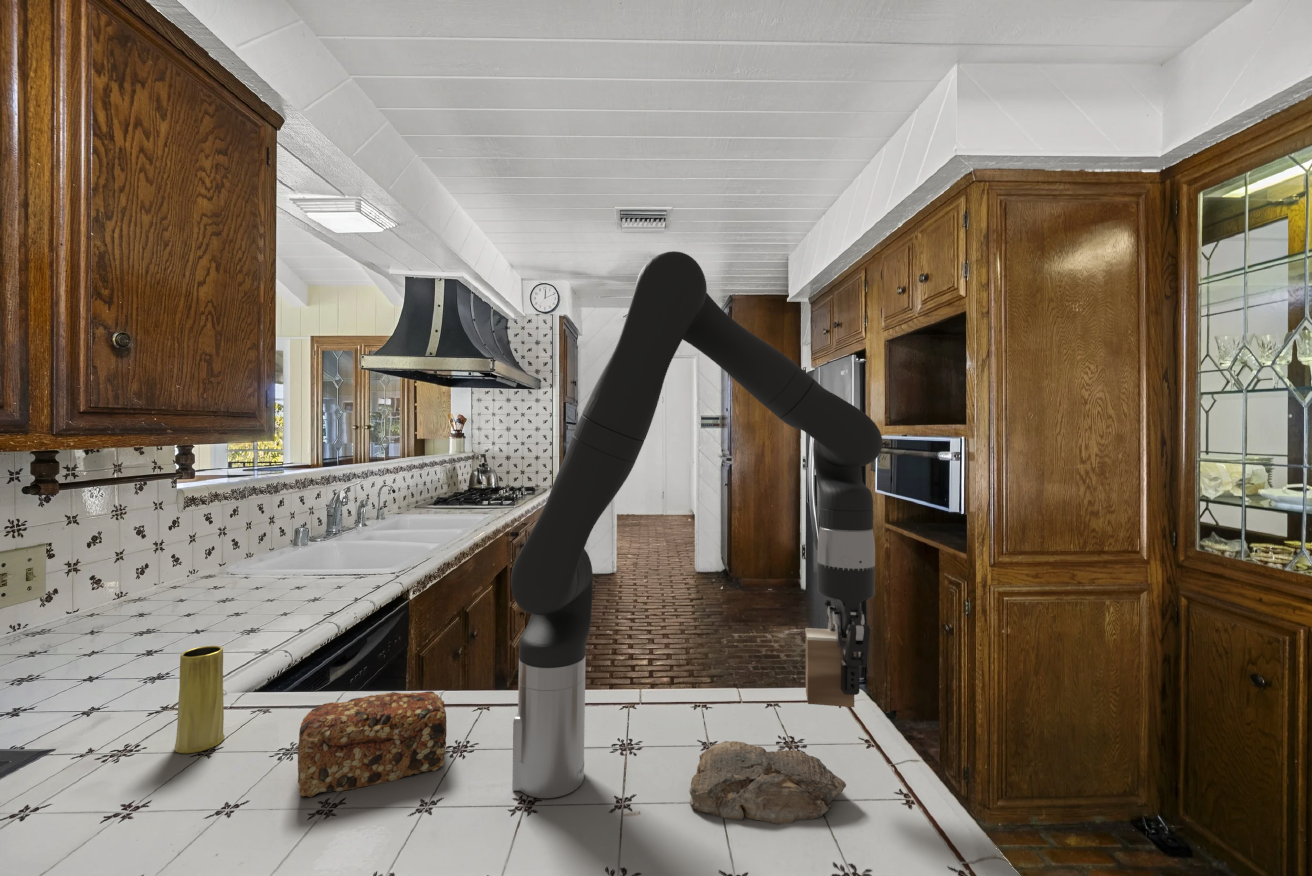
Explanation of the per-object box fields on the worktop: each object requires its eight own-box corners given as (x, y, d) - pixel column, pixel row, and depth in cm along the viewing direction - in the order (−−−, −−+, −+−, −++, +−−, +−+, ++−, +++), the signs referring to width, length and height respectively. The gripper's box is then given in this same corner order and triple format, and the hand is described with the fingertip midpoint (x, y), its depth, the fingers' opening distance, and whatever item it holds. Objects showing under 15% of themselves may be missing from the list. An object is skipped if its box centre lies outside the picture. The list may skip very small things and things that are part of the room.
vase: (175, 758, 86) (177, 661, 86) (173, 742, 91) (175, 650, 91) (226, 745, 90) (228, 652, 90) (222, 730, 95) (224, 641, 95)
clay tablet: (840, 777, 84) (702, 757, 89) (841, 743, 84) (702, 725, 88) (850, 844, 71) (686, 816, 75) (852, 804, 70) (687, 778, 75)
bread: (294, 805, 76) (296, 727, 76) (304, 764, 85) (305, 695, 86) (447, 772, 84) (448, 702, 84) (440, 738, 93) (441, 675, 94)
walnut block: (854, 707, 78) (853, 639, 78) (807, 703, 79) (807, 636, 79) (850, 694, 82) (849, 630, 82) (805, 691, 83) (805, 627, 83)
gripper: (892, 572, 73) (891, 710, 73) (858, 551, 87) (857, 667, 87) (831, 571, 74) (830, 708, 73) (807, 550, 88) (806, 665, 88)
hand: (845, 685), depth 80 cm, fingers closed on walnut block, 4 cm apart
